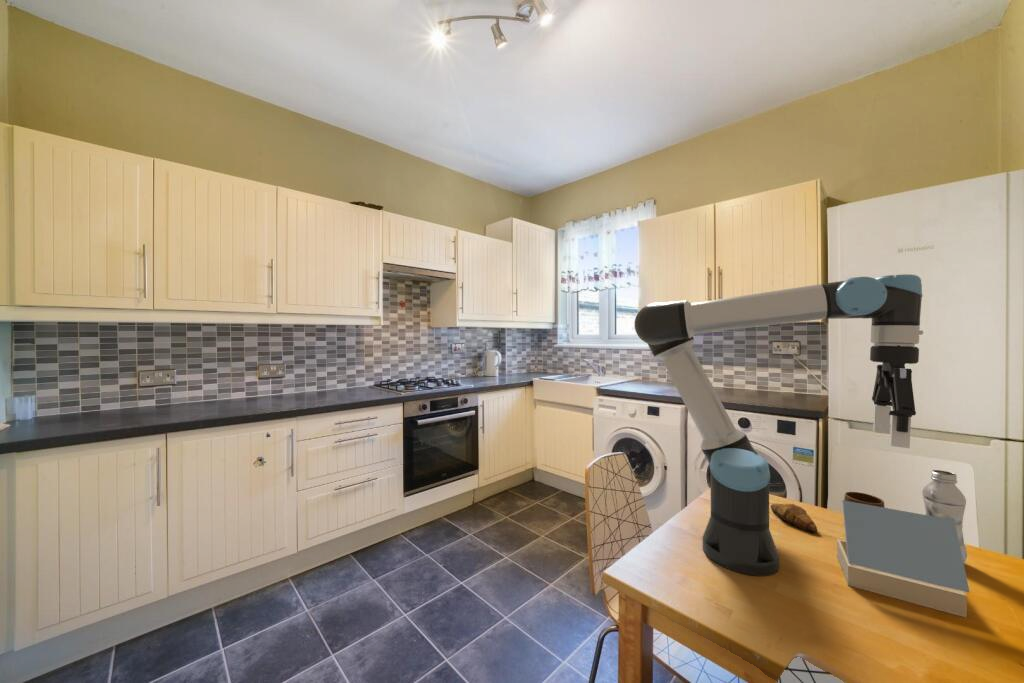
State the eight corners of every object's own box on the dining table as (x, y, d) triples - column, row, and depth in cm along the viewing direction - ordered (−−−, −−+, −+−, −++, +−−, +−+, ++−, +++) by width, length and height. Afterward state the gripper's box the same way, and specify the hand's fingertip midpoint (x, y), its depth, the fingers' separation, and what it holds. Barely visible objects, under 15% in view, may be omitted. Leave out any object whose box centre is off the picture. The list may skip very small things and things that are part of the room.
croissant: (827, 534, 95) (827, 514, 95) (804, 535, 94) (804, 516, 94) (783, 509, 108) (783, 493, 108) (762, 511, 108) (762, 494, 108)
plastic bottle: (977, 570, 79) (977, 479, 79) (940, 567, 80) (940, 477, 80) (947, 553, 86) (947, 468, 86) (913, 550, 87) (913, 466, 87)
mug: (913, 551, 87) (913, 512, 86) (882, 552, 86) (882, 512, 86) (863, 525, 99) (863, 491, 98) (836, 526, 98) (836, 491, 98)
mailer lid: (848, 562, 75) (849, 562, 74) (842, 501, 80) (843, 500, 79) (967, 592, 66) (969, 592, 65) (952, 520, 71) (954, 520, 70)
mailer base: (848, 585, 75) (848, 565, 75) (836, 556, 85) (836, 538, 85) (966, 617, 66) (966, 595, 66) (938, 580, 76) (938, 561, 76)
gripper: (942, 346, 69) (937, 457, 70) (899, 344, 90) (896, 430, 90) (887, 345, 73) (882, 450, 74) (858, 343, 94) (855, 425, 95)
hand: (889, 439), depth 82 cm, fingers open, 13 cm apart
